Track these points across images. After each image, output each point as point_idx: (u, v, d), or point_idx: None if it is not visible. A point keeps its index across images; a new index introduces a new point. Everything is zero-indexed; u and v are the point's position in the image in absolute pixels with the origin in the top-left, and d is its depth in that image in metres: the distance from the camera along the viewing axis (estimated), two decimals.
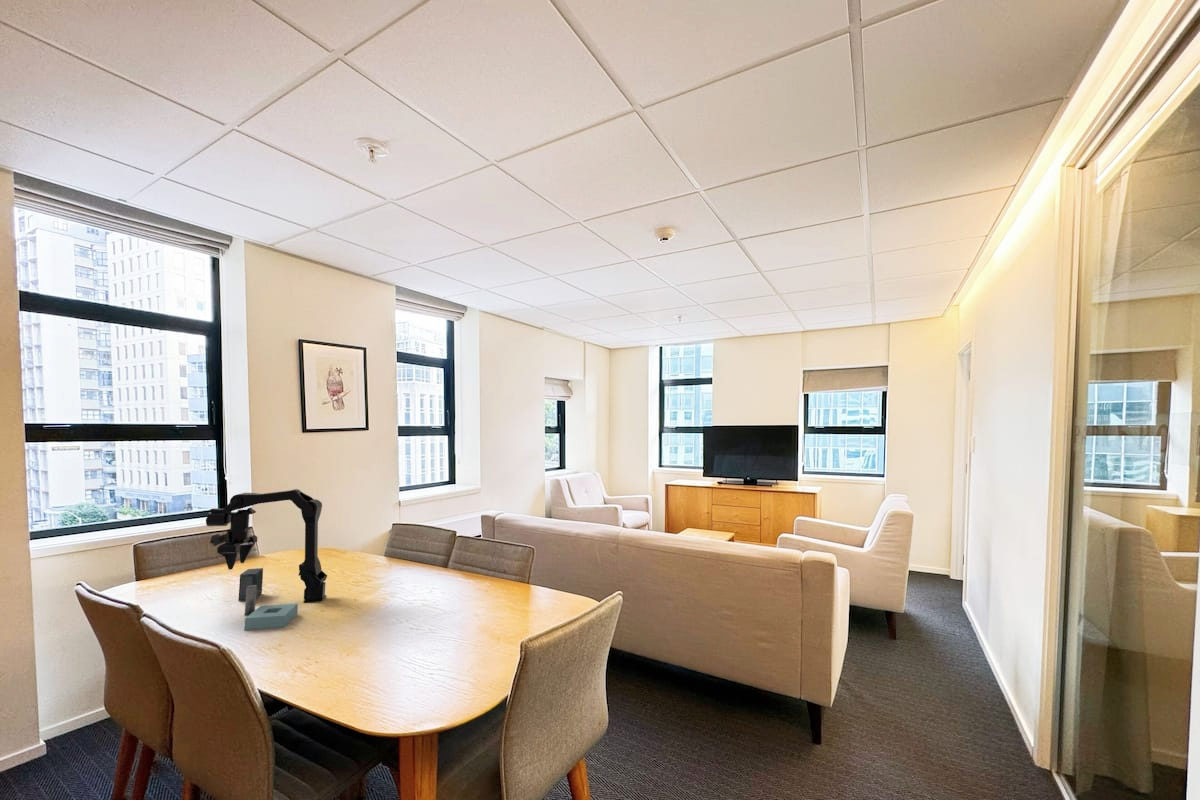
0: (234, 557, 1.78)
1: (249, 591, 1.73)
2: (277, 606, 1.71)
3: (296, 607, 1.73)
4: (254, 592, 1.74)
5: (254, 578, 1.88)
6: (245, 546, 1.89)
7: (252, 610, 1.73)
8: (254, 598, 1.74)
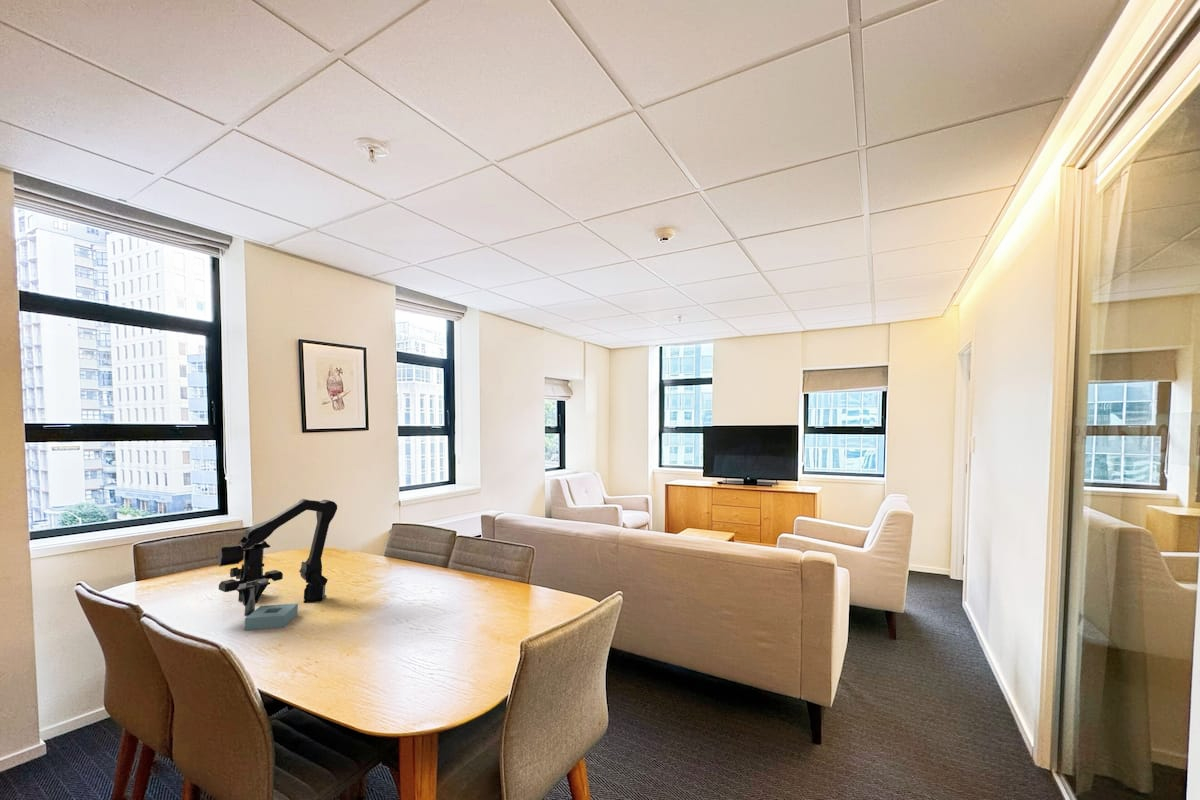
0: (243, 594, 1.70)
1: (248, 591, 1.73)
2: (277, 606, 1.71)
3: (296, 607, 1.73)
4: (254, 592, 1.74)
5: None
6: (258, 585, 1.76)
7: (252, 610, 1.73)
8: (254, 598, 1.74)
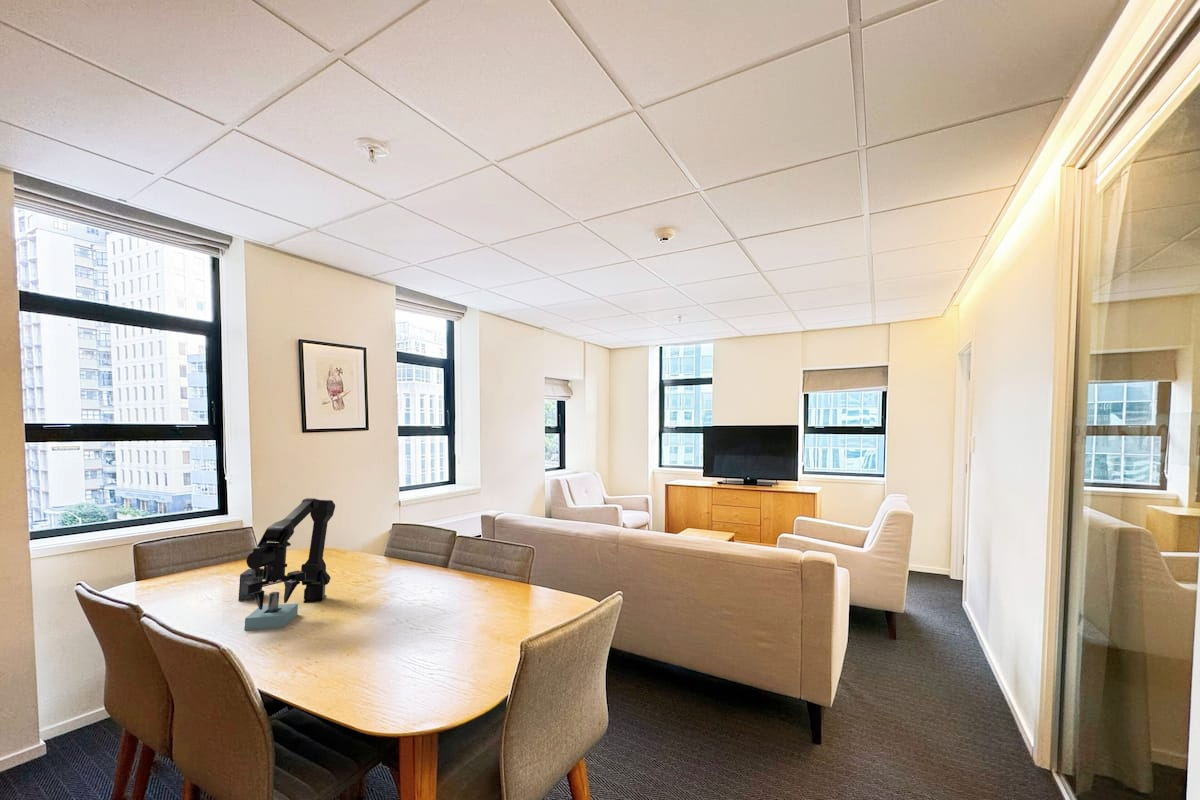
0: (258, 597, 1.62)
1: (271, 598, 1.66)
2: None
3: (296, 607, 1.73)
4: (277, 599, 1.67)
5: (254, 578, 1.88)
6: (288, 584, 1.71)
7: None
8: (277, 605, 1.67)
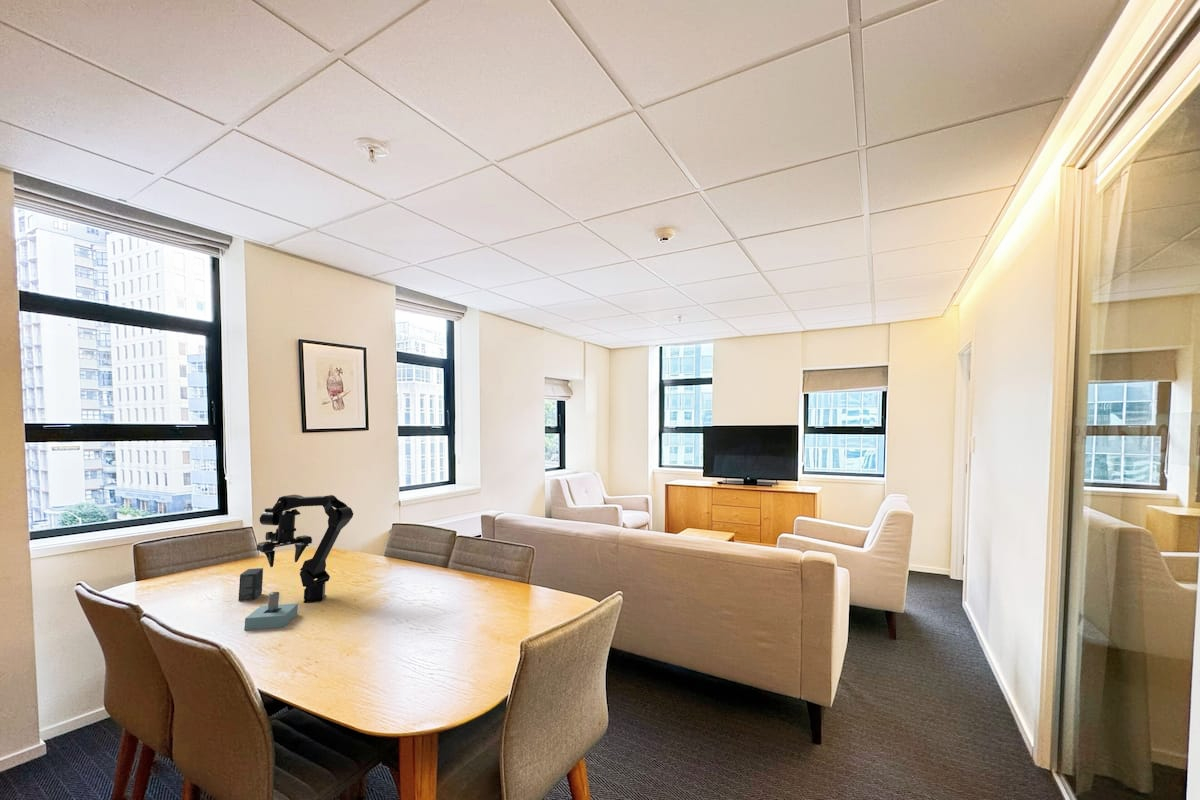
0: (270, 556, 1.87)
1: (271, 598, 1.66)
2: None
3: (296, 607, 1.73)
4: (277, 599, 1.67)
5: (254, 578, 1.88)
6: (298, 546, 1.97)
7: None
8: (277, 605, 1.67)
